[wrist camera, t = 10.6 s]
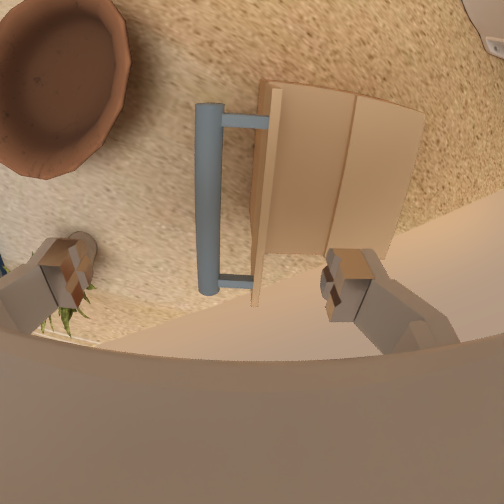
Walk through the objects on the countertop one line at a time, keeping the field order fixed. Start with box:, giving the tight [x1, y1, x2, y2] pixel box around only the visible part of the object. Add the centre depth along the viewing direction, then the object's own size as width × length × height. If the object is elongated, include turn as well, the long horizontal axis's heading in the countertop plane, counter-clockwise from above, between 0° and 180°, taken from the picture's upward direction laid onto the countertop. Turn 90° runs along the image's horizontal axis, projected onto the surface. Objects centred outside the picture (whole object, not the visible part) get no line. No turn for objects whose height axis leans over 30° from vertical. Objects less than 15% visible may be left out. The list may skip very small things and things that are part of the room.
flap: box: [195, 84, 283, 307], centre depth 23 cm, size 8×18×5 cm
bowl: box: [0, 0, 132, 180], centre depth 23 cm, size 22×22×11 cm
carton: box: [249, 79, 426, 260], centre depth 32 cm, size 16×18×11 cm
